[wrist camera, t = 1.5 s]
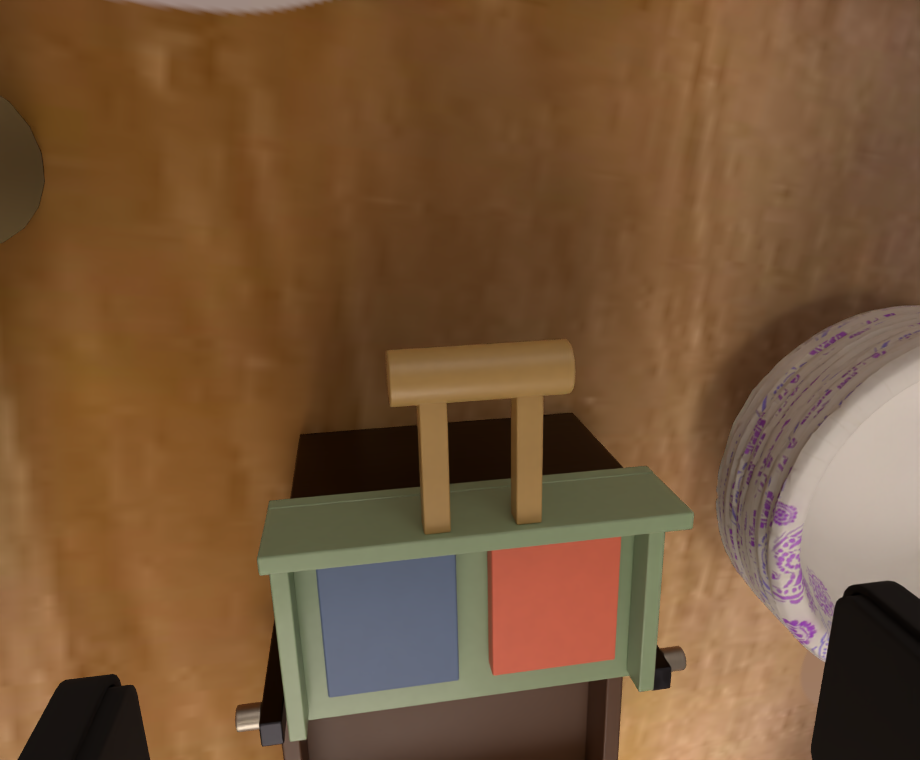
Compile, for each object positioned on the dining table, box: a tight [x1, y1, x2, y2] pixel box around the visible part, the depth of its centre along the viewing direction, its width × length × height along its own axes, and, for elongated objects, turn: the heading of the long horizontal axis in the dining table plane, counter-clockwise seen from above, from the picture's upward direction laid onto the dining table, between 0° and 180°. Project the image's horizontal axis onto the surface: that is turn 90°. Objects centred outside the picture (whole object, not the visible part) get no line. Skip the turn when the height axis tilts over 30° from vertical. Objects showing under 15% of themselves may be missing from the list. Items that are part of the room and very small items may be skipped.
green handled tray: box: [257, 339, 694, 742], centre depth 23 cm, size 13×14×4 cm
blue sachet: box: [316, 555, 459, 698], centre depth 24 cm, size 5×6×1 cm
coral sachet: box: [487, 537, 621, 676], centre depth 25 cm, size 5×6×1 cm
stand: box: [235, 413, 686, 746], centre depth 28 cm, size 17×9×8 cm, turn 92°
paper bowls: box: [716, 305, 920, 662], centre depth 30 cm, size 15×15×8 cm
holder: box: [282, 677, 623, 760], centre depth 33 cm, size 16×12×3 cm
